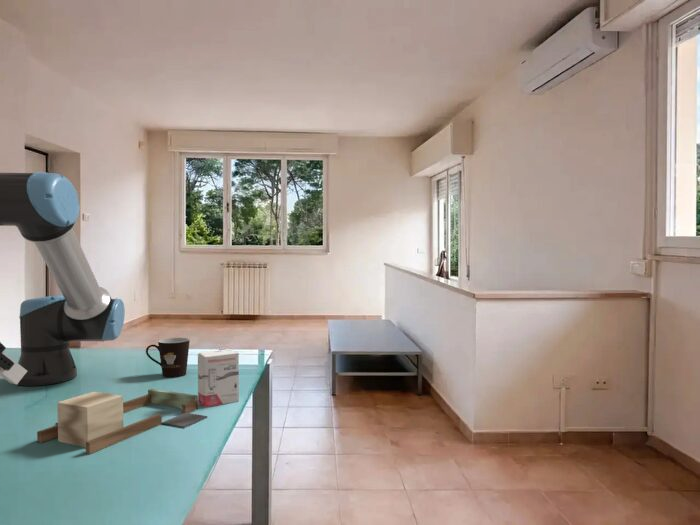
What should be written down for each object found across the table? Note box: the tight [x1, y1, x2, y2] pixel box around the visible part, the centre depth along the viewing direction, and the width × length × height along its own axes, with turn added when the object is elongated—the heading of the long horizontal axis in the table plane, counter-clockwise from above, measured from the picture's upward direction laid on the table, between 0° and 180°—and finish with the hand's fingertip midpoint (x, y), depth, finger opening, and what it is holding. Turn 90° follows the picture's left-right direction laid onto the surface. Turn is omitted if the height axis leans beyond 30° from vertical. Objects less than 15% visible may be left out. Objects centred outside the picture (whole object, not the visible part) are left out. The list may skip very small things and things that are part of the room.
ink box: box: [197, 348, 240, 408], centre depth 121 cm, size 9×5×12 cm, turn 124°
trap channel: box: [36, 388, 208, 455], centre depth 106 cm, size 26×28×3 cm
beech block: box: [56, 391, 124, 448], centre depth 99 cm, size 8×8×8 cm
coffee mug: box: [145, 337, 191, 379], centre depth 148 cm, size 12×9×10 cm
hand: (19, 377), depth 89 cm, fingers closed
